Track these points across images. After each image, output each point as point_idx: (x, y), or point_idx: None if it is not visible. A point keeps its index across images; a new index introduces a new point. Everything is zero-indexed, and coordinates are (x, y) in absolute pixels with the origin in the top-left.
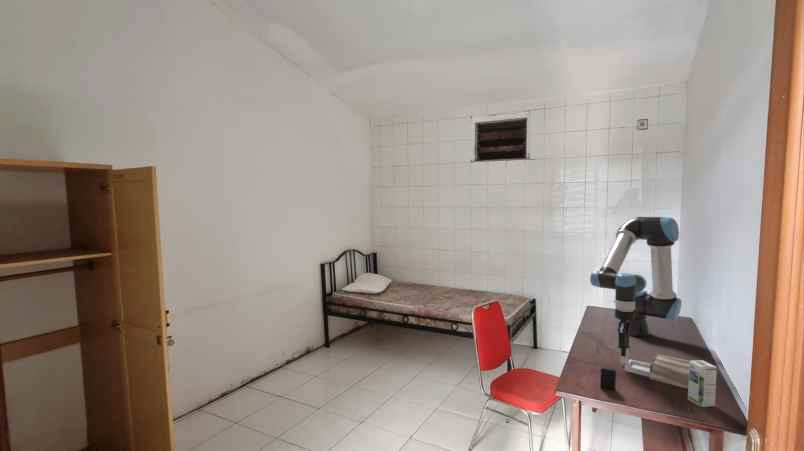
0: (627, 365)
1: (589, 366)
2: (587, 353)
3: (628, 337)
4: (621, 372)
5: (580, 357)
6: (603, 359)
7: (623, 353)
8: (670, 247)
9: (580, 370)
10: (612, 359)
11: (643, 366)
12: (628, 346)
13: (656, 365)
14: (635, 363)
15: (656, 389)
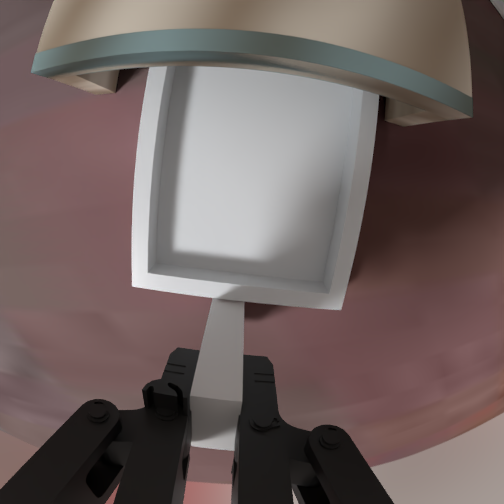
0: (302, 294)
1: None
2: None
3: (64, 493)
4: (369, 307)
5: None
6: None
7: (271, 388)
8: None
9: (401, 438)
10: (152, 371)
11: (168, 169)
12: (169, 406)
13: (427, 50)
14: (154, 234)
15: (500, 118)
